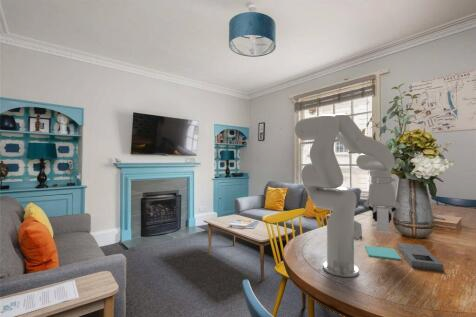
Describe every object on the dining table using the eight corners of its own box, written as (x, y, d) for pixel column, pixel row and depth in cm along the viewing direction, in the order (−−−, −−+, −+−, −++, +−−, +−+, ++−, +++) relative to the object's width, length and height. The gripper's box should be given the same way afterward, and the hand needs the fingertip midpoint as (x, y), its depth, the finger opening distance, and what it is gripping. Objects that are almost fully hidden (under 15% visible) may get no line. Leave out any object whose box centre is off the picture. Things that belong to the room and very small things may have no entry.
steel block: (388, 231, 105) (388, 208, 105) (377, 230, 107) (377, 208, 107) (386, 228, 109) (386, 206, 109) (375, 227, 111) (375, 206, 111)
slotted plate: (443, 271, 90) (443, 264, 90) (411, 267, 94) (411, 260, 94) (422, 250, 111) (422, 245, 111) (397, 247, 114) (397, 242, 114)
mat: (401, 260, 100) (401, 258, 100) (368, 256, 104) (368, 254, 104) (394, 250, 111) (394, 248, 111) (365, 246, 116) (365, 245, 116)
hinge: (328, 232, 138) (330, 215, 140) (331, 233, 141) (332, 216, 144) (360, 239, 127) (361, 220, 130) (362, 239, 130) (363, 221, 133)
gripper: (401, 180, 108) (401, 220, 108) (359, 179, 114) (360, 218, 114) (406, 182, 101) (406, 225, 101) (361, 181, 107) (362, 221, 107)
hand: (381, 220), depth 108 cm, fingers closed on steel block, 4 cm apart
